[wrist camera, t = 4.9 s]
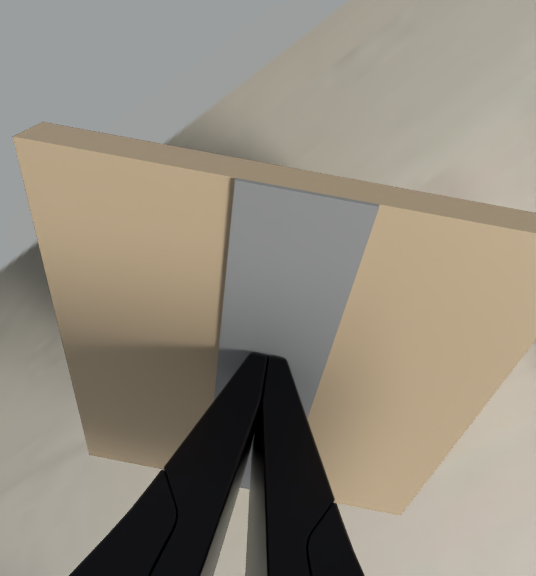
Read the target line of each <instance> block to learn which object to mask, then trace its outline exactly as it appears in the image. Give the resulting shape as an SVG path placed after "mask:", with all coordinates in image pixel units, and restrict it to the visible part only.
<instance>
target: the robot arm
mask: <svg viewBox="0 0 536 576" xmlns="http://www.w3.org/2000/svg"><path fill="white" fill-rule="evenodd" d="M253 437H254V438H253ZM252 442H253V445H252ZM251 447H252V456H251V474H250V493H249V513H248V533H247V553H246V573H245V576H365V575H364V573H363V571H362V569H361V566H360V564H359V562H358V559H357V557H356V555H355V552H354V550H353V547H352V545H351V542H350V539H349V537H348V534H347V531H346V529H345V526H344V523H343V521H342V518H341V515H340V512H339V509H338V506H337V504H336V503H334V501H335V498H334V495H333V492H332V489H331V486H330V483H329V480H328V478H327V475H326V472H325V469H324V466H323V463H322V460H321V457H320V454H319V451H318V448H317V446H316V443H315V440H314V437H313V434H312V431H311V428H310V425H309V422H308V419H307V416H306V414H305V411H304V408H303V405H302V402H301V399H300V396H299V393H298V390H297V387H296V385H295V382H294V379H293V376H292V373H291V370H290V367H289V364H288V361H287V360H286V359H285V358H282V357H277V356H269V357H268V356H267V355H266V354H260V353H255V352H251V353H250V354H249V355H248V356H247V357H246V359H245V360H244V361H243V363H242V364H241V365H240V367H239V368H238V369H237V371H236V372H235V373H234V375H233V376H232V377H231V379H230V380H229V381H228V383H227V384H226V385H225V387H224V388H223V389H222V391H221V392H220V393H219V394H218V396H217V397H216V398H215V400H214V401H213V402H212V404H211V405H210V406H209V408H208V409H207V410H206V412H205V413H204V414H203V416H202V417H201V418H200V420H199V421H198V422H197V424H196V425H195V426H194V428H193V429H192V430H191V432H190V433H189V434H188V436H187V437H186V438H185V439H184V441H183V442H182V443H181V445H180V446H179V447H178V449H177V450H176V451H175V453H174V454H173V455H172V457H171V458H170V459H169V461H168V462H167V463H166V465H165V466H164V470H161V471H160V472H159V474H158V475H157V476H156V478H155V479H154V480H153V481H152V483H151V484H150V485H149V487H148V488H147V489H146V490H145V492H144V493H143V494H142V495H141V497H140V498H139V499H138V500H137V502H136V503H135V504H134V505H133V507H132V508H131V509H130V510H129V511H128V512H127V514H126V515H125V516H124V517H123V518H122V519H121V520H120V521H119V523H118V524H117V525H116V526H115V527H114V528H113V529H112V530H111V531H110V533H109V534H108V535H107V536H106V537H105V538H104V539H103V540H102V541H101V542H100V543H99V544H98V545H97V546H96V547H95V549H94V550H93V551H92V552H91V553H90V554H89V555H88V556H87V557H86V558H85V559H84V560H83V561H82V562H81V563H80V564H79V565H78V566H77V568H76V569H75V570H74V571H73V572H72V573H71V574H70V575H69V576H213V575H214V571H215V568H216V565H217V561H218V558H219V555H220V551H221V548H222V545H223V541H224V538H225V535H226V531H227V528H228V525H229V521H230V518H231V515H232V511H233V508H234V505H235V501H236V498H237V495H238V492H239V488H240V485H241V482H242V478H243V475H244V472H245V468H246V465H247V462H248V458H249V455H250V451H251Z"/></svg>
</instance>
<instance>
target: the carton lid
mask: <svg viewBox="0 0 536 576" xmlns="http://www.w3.org/2000/svg"><path fill="white" fill-rule="evenodd" d="M13 140H14V144H15V148H16V152H17V156H18V160H19V165H20V169H21V173H22V177H23V182H24V186H25V190H26V194H27V198H28V202H29V207H30V211H31V215H32V219H33V223H34V227H35V231H36V235H37V240H38V244H39V248H40V252H41V256H42V260H43V265H44V269H45V273H46V277H47V281H48V285H49V289H50V294H51V298H52V302H53V306H54V310H55V314H56V318H57V323H58V327H59V331H60V335H61V339H62V343H63V347H64V352H65V356H66V360H67V364H68V368H69V372H70V376H71V381H72V385H73V389H74V393H75V397H76V401H77V405H78V410H79V414H80V418H81V422H82V426H83V430H84V434H85V439H86V443H87V447H88V451H89V455H93V456H98V457H103V458H108V459H113V460H119V461H124V462H129V463H134V464H139V465H144V466H149V467H154V468H160V469H164V466H165V465H166V463H167V462H168V461H169V459H170V458H171V457H172V455H173V454H174V453H175V451H176V450H177V449H178V447H179V446H180V445H181V443H182V442H183V441H184V439H185V438H186V437H187V436H188V434H189V433H190V432H191V430H192V429H193V428H194V426H195V425H196V424H197V422H198V421H199V420H200V418H201V417H202V416H203V414H204V413H205V412H206V410H207V409H208V408H209V406H210V405H211V404H212V402H213V401H214V400H215V398H216V397H217V396H218V394H219V393H220V392H221V391H222V389H223V388H224V387H225V385H226V384H227V383H228V381H229V380H230V379H231V377H232V376H233V375H234V373H235V372H236V371H237V369H238V368H239V367H240V365H241V364H242V363H243V361H244V360H245V359H246V357H247V356H248V355H249V354H250V353H251V352H255V353H260V354H266V355H267V356H268V357H269V356H277V357H282V358H285V359H286V360H287V361H288V364H289V367H290V370H291V373H292V376H293V379H294V382H295V385H296V387H297V390H298V393H299V396H300V399H301V402H302V405H303V408H304V411H305V414H306V416H307V419H308V422H309V425H310V428H311V431H312V434H313V437H314V440H315V443H316V446H317V448H318V451H319V454H320V457H321V460H322V463H323V466H324V469H325V472H326V475H327V478H328V480H329V483H330V486H331V489H332V492H333V495H334V498H335V501H334V503H339V504H345V505H350V506H355V507H360V508H365V509H370V510H375V511H381V512H386V513H391V514H396V515H401V514H402V513H403V512H404V510H405V509H406V508H407V507H408V505H409V504H410V503H411V501H412V500H413V499H414V497H415V496H416V495H417V494H418V492H419V491H420V490H421V488H422V487H423V486H424V484H425V483H426V482H427V481H428V479H429V478H430V477H431V475H432V474H433V473H434V471H435V470H436V469H437V468H438V466H439V465H440V464H441V462H442V461H443V460H444V458H445V457H446V456H447V455H448V453H449V452H450V451H451V449H452V448H453V447H454V445H455V444H456V443H457V442H458V440H459V439H460V438H461V436H462V435H463V434H464V432H465V431H466V430H467V429H468V427H469V426H470V425H471V423H472V422H473V421H474V419H475V418H476V417H477V416H478V414H479V413H480V412H481V410H482V409H483V408H484V406H485V405H486V404H487V403H488V401H489V400H490V399H491V397H492V396H493V395H494V393H495V392H496V391H497V390H498V388H499V387H500V386H501V384H502V383H503V382H504V380H505V379H506V378H507V377H508V375H509V374H510V373H511V371H512V370H513V369H514V367H515V366H516V365H517V364H518V362H519V361H520V360H521V358H522V357H523V356H524V354H525V353H526V352H527V351H528V349H529V348H530V347H531V345H532V344H533V343H534V341H535V340H536V213H534V212H528V211H523V210H517V209H512V208H507V207H501V206H496V205H490V204H485V203H479V202H474V201H469V200H463V199H458V198H452V197H447V196H442V195H436V194H431V193H425V192H420V191H414V190H409V189H404V188H398V187H393V186H387V185H382V184H377V183H371V182H366V181H360V180H355V179H349V178H344V177H339V176H333V175H328V174H322V173H317V172H312V171H306V170H301V169H295V168H290V167H284V166H279V165H274V164H268V163H263V162H257V161H252V160H247V159H241V158H236V157H230V156H225V155H220V154H214V153H209V152H203V151H198V150H192V149H187V148H182V147H176V146H171V145H165V144H160V143H155V142H149V141H143V140H138V139H133V138H127V137H122V136H116V135H111V134H106V133H100V132H95V131H90V130H84V129H78V128H73V127H67V126H62V125H57V124H52V123H46V122H42V123H40V124H38V125H35V126H33V127H31V128H29V129H27V130H25V131H23V132H21V133H19V134H17V135H15V136H13ZM253 438H254V437H253ZM252 445H253V442H252ZM251 456H252V447H251V451H250V455H249V458H248V462H247V465H246V468H245V472H244V475H243V478H242V482H241V485H240V487H241V488H246V489H250V474H251Z"/></svg>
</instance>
